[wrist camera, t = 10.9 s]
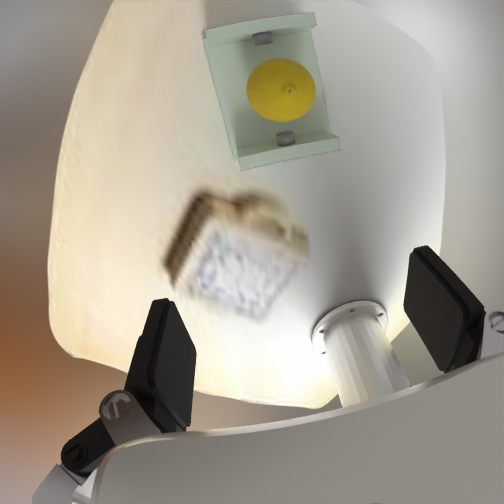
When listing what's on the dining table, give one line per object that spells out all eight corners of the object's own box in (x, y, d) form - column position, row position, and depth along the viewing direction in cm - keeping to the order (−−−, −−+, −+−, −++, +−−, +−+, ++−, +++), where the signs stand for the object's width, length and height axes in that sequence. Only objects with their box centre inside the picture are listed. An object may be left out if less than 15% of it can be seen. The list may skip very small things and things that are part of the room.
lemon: (264, 51, 23) (278, 39, 16) (312, 82, 25) (342, 84, 18) (232, 97, 25) (234, 102, 18) (281, 126, 27) (300, 143, 20)
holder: (328, 138, 29) (345, 149, 25) (234, 158, 29) (235, 172, 25) (304, 22, 22) (319, 12, 18) (203, 40, 23) (198, 31, 18)
